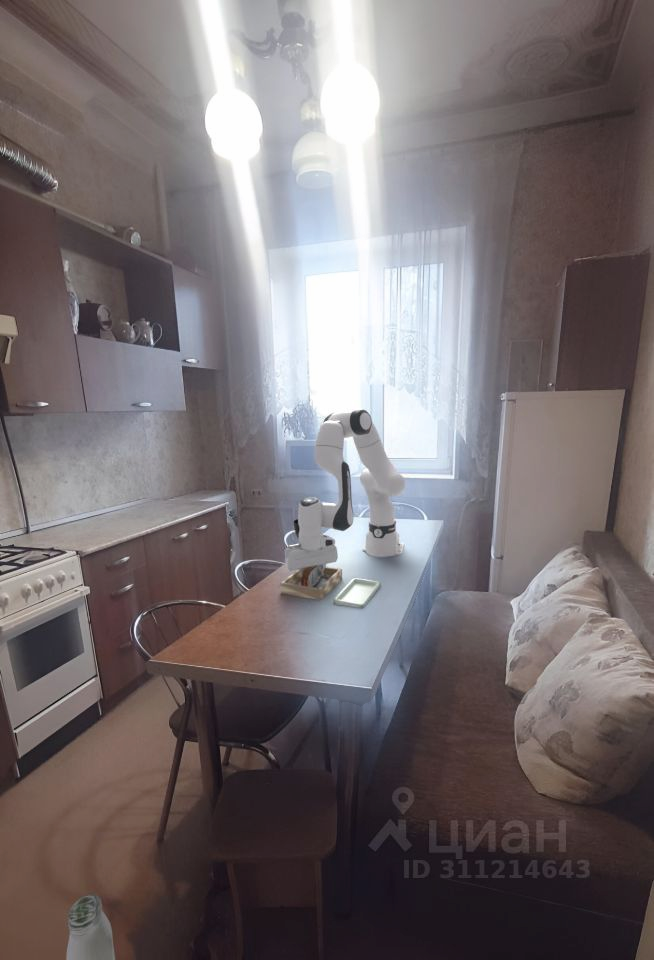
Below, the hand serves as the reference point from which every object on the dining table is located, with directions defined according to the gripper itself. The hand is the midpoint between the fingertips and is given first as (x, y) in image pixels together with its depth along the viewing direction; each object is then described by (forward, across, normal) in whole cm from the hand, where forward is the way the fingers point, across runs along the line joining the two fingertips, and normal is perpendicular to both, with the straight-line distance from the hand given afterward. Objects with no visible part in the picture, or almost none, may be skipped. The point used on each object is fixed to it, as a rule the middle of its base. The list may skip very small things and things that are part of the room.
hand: (312, 576), depth 164 cm
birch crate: (+4, 0, 0) cm, 4 cm away
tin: (+4, 0, 0) cm, 4 cm away
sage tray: (+4, +11, -16) cm, 19 cm away
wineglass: (+4, +5, +19) cm, 20 cm away
